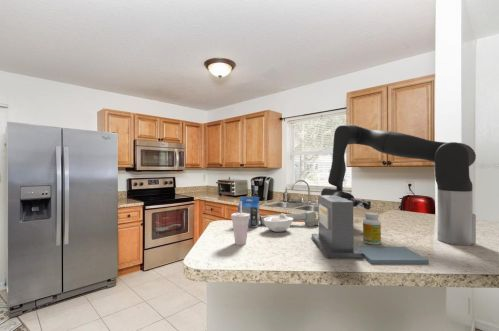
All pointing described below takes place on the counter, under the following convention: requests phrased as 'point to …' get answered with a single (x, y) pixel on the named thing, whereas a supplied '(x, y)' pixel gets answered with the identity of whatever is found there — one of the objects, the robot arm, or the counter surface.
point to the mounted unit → (336, 228)
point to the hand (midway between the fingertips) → (357, 206)
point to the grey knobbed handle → (298, 218)
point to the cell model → (278, 222)
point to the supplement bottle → (371, 229)
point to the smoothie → (240, 226)
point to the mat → (391, 255)
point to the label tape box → (250, 210)
